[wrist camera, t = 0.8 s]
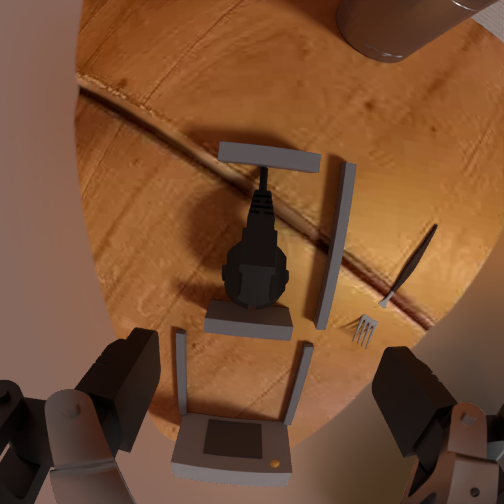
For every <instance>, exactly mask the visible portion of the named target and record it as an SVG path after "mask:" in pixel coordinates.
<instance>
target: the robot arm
mask: <svg viewBox="0 0 504 504" xmlns="http://www.w3.org/2000/svg"><path fill="white" fill-rule="evenodd" d="M498 1H500V0H342V2H341V4H340V6H339V7H338V10H337V13H336V21H337V25H338V28H339V30H340V32H341V33H342V35H343V36H344V38H345V39H346V40H347V41H348V42H349V43H350V44H351V45H352V46H353V47H354V48H355V49H357V50H358V51H359V52H361V53H362V54H364V55H366V56H367V57H369V58H372V59H374V60H377V61H381V62H386V63H395V62H400V61H402V60H404V59H405V58H407V57H408V56H410V55H411V54H413V53H414V52H416V51H417V50H419V49H420V48H422V47H423V46H425V45H426V44H428V43H430V42H431V41H433V40H434V39H436V38H437V37H439V36H440V35H442V34H443V33H445V32H447V31H448V30H450V29H451V28H453V27H455V26H456V25H458V24H460V23H461V22H463V21H465V20H466V19H468V18H470V17H471V16H473V15H475V14H477V13H478V12H480V11H482V10H484V9H485V8H487V7H489V6H490V5H492V4H494V3H496V2H498ZM160 373H161V365H160V352H159V337H158V332H157V331H155V330H149V329H143V328H138V327H135V328H134V329H133V331H132V332H131V333H130V335H129V336H128V337H127V339H126V340H125V339H118V340H116V341H114V342H113V343H111V344H109V345H108V346H107V347H106V349H105V350H104V351H103V352H102V354H101V356H99V357H98V359H97V360H96V363H94V364H93V365H92V366H91V368H90V369H89V370H88V372H87V373H86V374H85V375H84V377H83V378H82V379H81V381H80V382H79V383H78V385H77V386H76V387H75V389H66V390H61V391H58V392H56V393H54V394H52V395H51V396H50V397H49V398H48V399H47V400H39V399H33V398H26V397H24V396H23V394H22V392H21V390H20V387H19V386H18V385H17V384H16V383H14V382H12V381H10V380H0V455H1V454H2V452H3V450H4V449H5V447H6V445H7V444H9V445H10V447H9V449H8V450H7V452H6V454H5V456H4V457H3V459H2V460H1V462H0V504H34V503H35V500H36V498H37V495H38V494H39V491H40V489H41V487H42V485H43V482H44V480H45V478H46V476H47V474H48V472H49V469H50V467H55V469H54V470H51V471H50V480H51V485H52V488H53V492H54V495H55V499H56V502H57V504H136V502H135V500H134V498H133V496H132V494H131V492H130V490H129V488H128V487H127V485H126V483H125V480H124V478H123V476H122V474H121V472H120V470H119V468H118V465H117V463H116V461H115V457H116V454H117V452H118V450H122V451H126V452H131V449H132V447H133V444H134V442H135V439H136V437H137V434H138V432H139V429H140V427H141V424H142V422H143V419H144V417H145V414H146V412H147V410H148V407H149V405H150V402H151V400H152V398H153V395H154V393H155V391H156V388H157V386H158V383H159V380H160ZM433 374H434V373H433V372H432V371H431V369H430V368H429V367H428V366H427V365H426V364H424V363H423V362H422V361H420V360H419V359H417V358H416V357H415V355H414V354H413V353H412V352H411V351H410V349H409V348H408V347H406V346H398V347H387V348H386V349H385V351H384V353H383V355H382V358H381V361H380V363H379V366H378V369H377V371H376V374H375V376H374V379H373V382H372V394H373V396H374V398H375V400H376V402H377V404H378V406H379V408H380V410H381V412H382V414H383V416H384V418H385V420H386V422H387V424H388V426H389V428H390V430H391V432H392V434H393V436H394V438H395V440H396V443H397V445H398V447H399V449H400V451H401V453H402V455H403V457H404V458H406V457H410V456H413V455H417V456H418V459H417V460H416V462H415V463H414V465H413V469H412V472H411V475H410V478H409V481H408V483H407V486H406V489H405V491H404V494H403V497H402V499H401V502H400V504H504V472H503V470H502V469H501V467H500V465H499V464H498V462H497V461H498V459H499V458H500V457H501V456H502V455H503V454H504V404H503V405H502V407H501V408H500V410H499V411H498V413H497V414H496V415H485V414H484V413H483V411H482V410H481V409H480V408H478V407H477V406H475V405H473V404H470V403H459V404H458V403H457V401H456V400H455V399H454V398H453V397H452V395H451V394H450V393H449V391H448V390H447V389H446V388H445V386H444V385H443V384H442V383H441V382H439V379H438V378H437V377H436V375H433Z"/></svg>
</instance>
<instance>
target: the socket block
mask: <svg viewBox="0 0 504 504" xmlns="http://www.w3.org/2000/svg"><path fill="white" fill-rule="evenodd" d="M313 350H314V346H313V343H304V346H303V350H302V354H301V358H300V362H299V366H298V370H297V373H296V377H295V381H294V385H293V388H292V392H291V395H290V399H289V402H288V406H287V409H286V413H285V416H284V419H283V421H262V420H247V419H236V418H226V417H218V416H210V415H203V414H196V413H190V412H188V408H187V373H186V331H184V330H177V332H176V362H177V385H178V402H179V414H180V415H183V417H182V421H181V425H180V429H179V432H178V436H177V440H176V444H175V448H174V452H173V455H172V459H171V466H172V471H173V476H176V477H180V478H186V479H192V480H198V481H206V482H214V483H222V484H232V485H246V486H286V485H287V483H288V481H289V479H290V477H291V475H292V465H291V456H290V447H289V439H288V430H287V425H291V423H292V420H293V417H294V414H295V411H296V408H297V404H298V401H299V398H300V395H301V392H302V388H303V385H304V382H305V378H306V375H307V371H308V368H309V364H310V361H311V357H312V353H313Z"/></svg>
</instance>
